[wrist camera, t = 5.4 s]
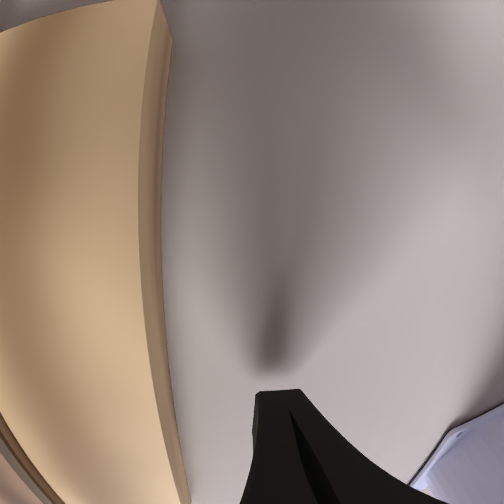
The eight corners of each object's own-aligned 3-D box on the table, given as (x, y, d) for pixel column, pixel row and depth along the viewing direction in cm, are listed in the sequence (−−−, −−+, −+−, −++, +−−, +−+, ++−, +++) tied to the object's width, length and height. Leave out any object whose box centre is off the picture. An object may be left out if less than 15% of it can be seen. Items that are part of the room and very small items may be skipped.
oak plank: (174, 45, 7) (158, -5, 4) (191, 494, 12) (191, 537, 10) (7, 73, 6) (-48, 56, 3) (90, 481, 12) (81, 520, 9)
